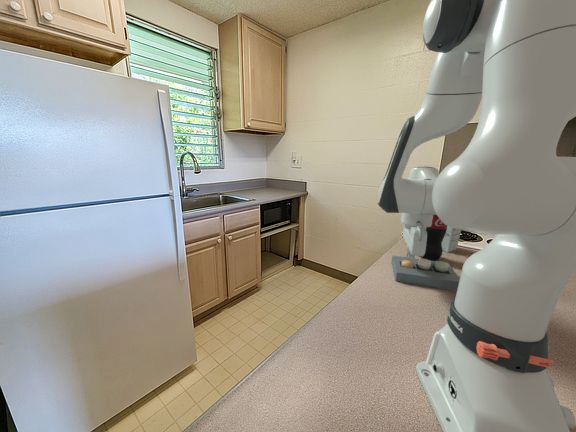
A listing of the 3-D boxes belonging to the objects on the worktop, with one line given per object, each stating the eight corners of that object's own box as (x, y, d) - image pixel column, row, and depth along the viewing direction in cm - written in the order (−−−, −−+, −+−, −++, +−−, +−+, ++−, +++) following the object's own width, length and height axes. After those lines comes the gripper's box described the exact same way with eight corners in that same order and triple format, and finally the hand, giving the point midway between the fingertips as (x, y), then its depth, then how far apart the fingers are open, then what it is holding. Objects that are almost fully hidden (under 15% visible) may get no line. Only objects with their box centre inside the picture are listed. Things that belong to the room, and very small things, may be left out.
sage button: (449, 272, 77) (450, 266, 76) (436, 270, 78) (437, 264, 77) (445, 268, 80) (446, 261, 79) (433, 266, 81) (434, 260, 81)
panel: (460, 291, 72) (462, 282, 71) (395, 280, 77) (396, 272, 77) (446, 271, 85) (448, 263, 84) (391, 262, 90) (392, 255, 89)
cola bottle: (444, 262, 92) (461, 183, 84) (420, 260, 93) (435, 182, 85) (435, 254, 100) (449, 180, 92) (413, 252, 101) (425, 179, 93)
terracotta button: (413, 271, 80) (414, 265, 79) (401, 269, 81) (402, 263, 80) (411, 266, 83) (412, 261, 83) (400, 265, 84) (401, 259, 84)
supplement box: (430, 246, 108) (435, 219, 105) (440, 244, 111) (445, 217, 108) (447, 252, 102) (453, 223, 99) (457, 249, 105) (463, 221, 102)
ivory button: (431, 270, 78) (432, 263, 78) (418, 268, 79) (420, 262, 79) (428, 265, 81) (429, 259, 81) (416, 263, 83) (417, 257, 82)
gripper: (435, 227, 67) (427, 274, 70) (421, 213, 86) (415, 250, 89) (410, 225, 69) (403, 270, 72) (401, 211, 88) (396, 247, 91)
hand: (410, 258), depth 81 cm, fingers closed
